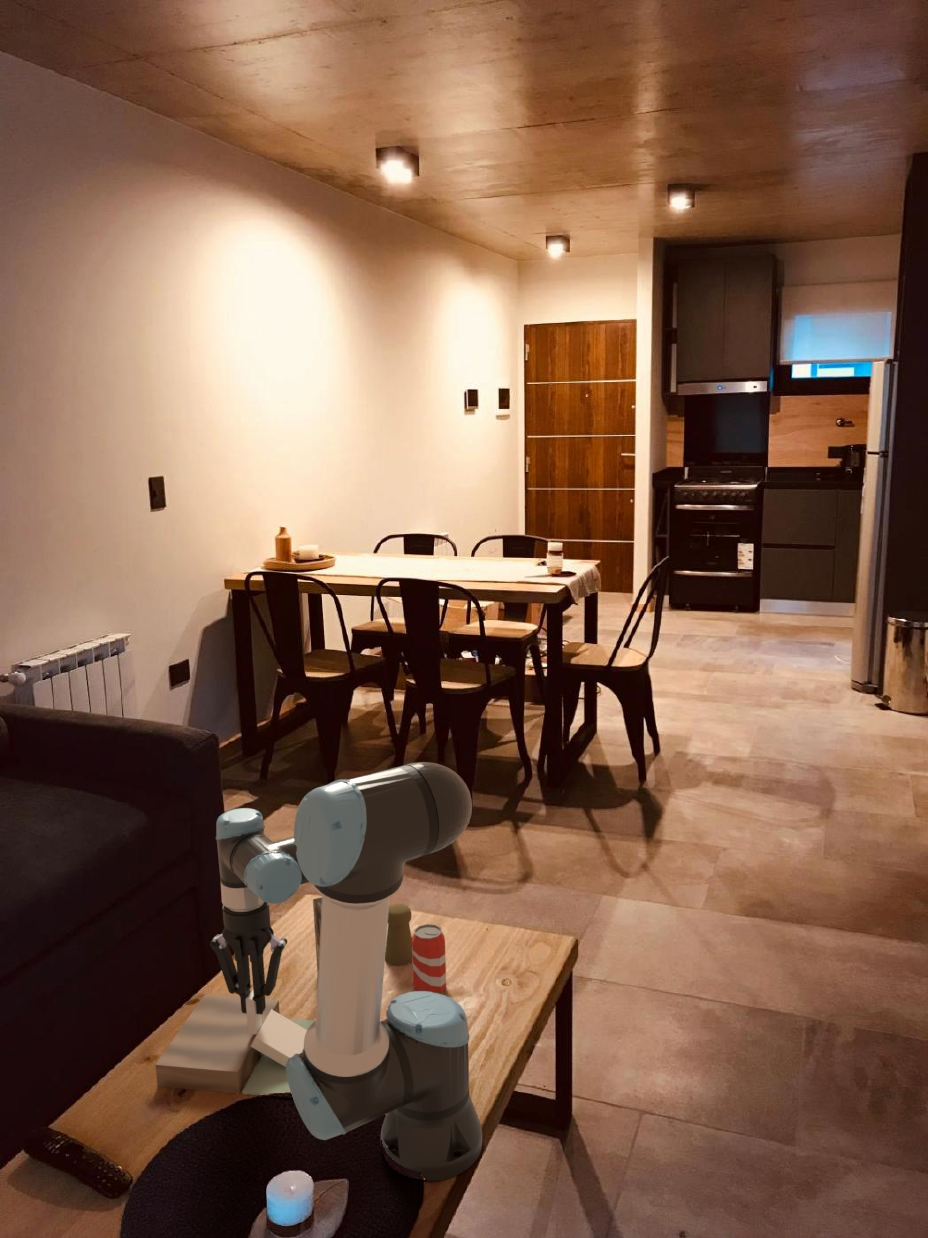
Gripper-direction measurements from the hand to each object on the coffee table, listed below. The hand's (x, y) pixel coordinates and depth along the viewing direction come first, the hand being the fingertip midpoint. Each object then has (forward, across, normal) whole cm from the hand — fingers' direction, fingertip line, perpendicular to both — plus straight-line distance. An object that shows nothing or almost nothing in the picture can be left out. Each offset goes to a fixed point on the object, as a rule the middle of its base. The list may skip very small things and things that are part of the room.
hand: (255, 1029), depth 173 cm
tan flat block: (+5, +6, 0) cm, 8 cm away
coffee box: (+5, -8, -23) cm, 25 cm away
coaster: (+3, -4, 0) cm, 5 cm away
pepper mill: (+5, -18, -33) cm, 38 cm away
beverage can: (+5, -26, -23) cm, 35 cm away
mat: (+5, -9, 0) cm, 10 cm away
